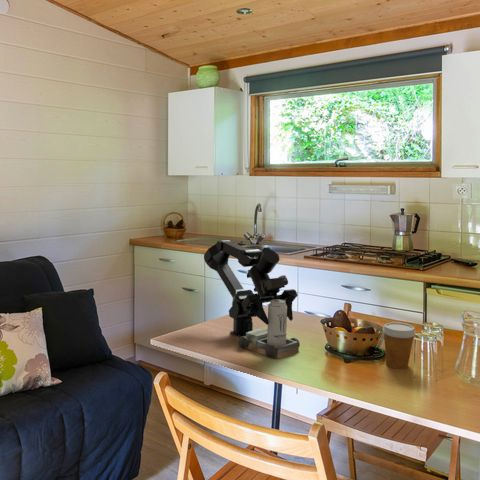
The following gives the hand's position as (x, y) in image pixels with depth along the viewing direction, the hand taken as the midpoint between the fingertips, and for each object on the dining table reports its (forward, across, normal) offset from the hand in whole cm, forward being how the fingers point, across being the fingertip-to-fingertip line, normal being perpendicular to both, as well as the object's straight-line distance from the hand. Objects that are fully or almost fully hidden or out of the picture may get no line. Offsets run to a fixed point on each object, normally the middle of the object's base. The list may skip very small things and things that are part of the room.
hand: (280, 322), depth 169 cm
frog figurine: (+15, +31, 0) cm, 34 cm away
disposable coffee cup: (+26, +25, -11) cm, 38 cm away
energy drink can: (+5, 0, +7) cm, 9 cm away
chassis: (+4, -1, +10) cm, 11 cm away
